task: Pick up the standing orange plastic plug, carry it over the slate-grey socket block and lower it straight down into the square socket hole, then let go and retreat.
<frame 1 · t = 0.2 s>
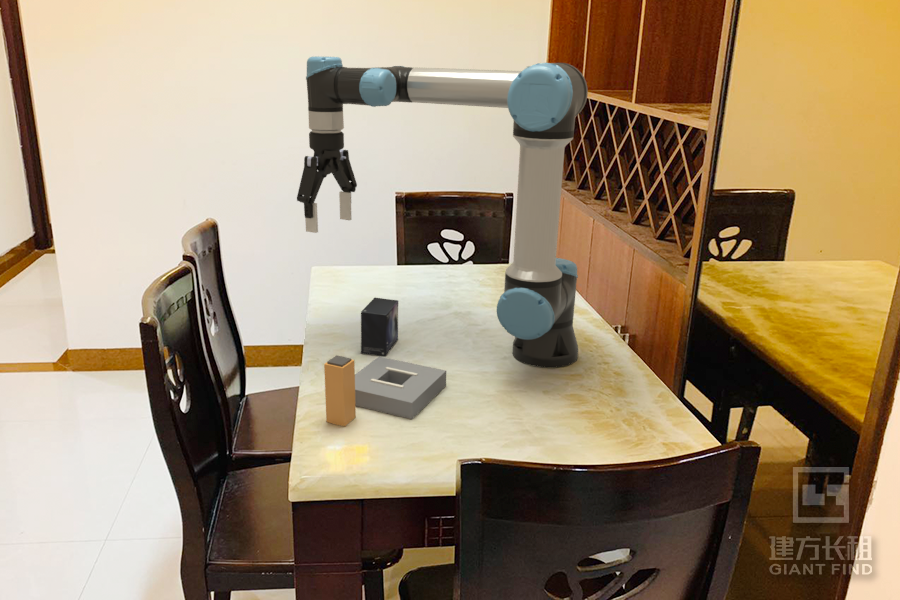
hand: (329, 225, 166), 28 cm above the table, fingers open, 13 cm apart
socket: (394, 393, 149), on the table
plug: (341, 419, 138), on the table
small box: (380, 347, 171), on the table
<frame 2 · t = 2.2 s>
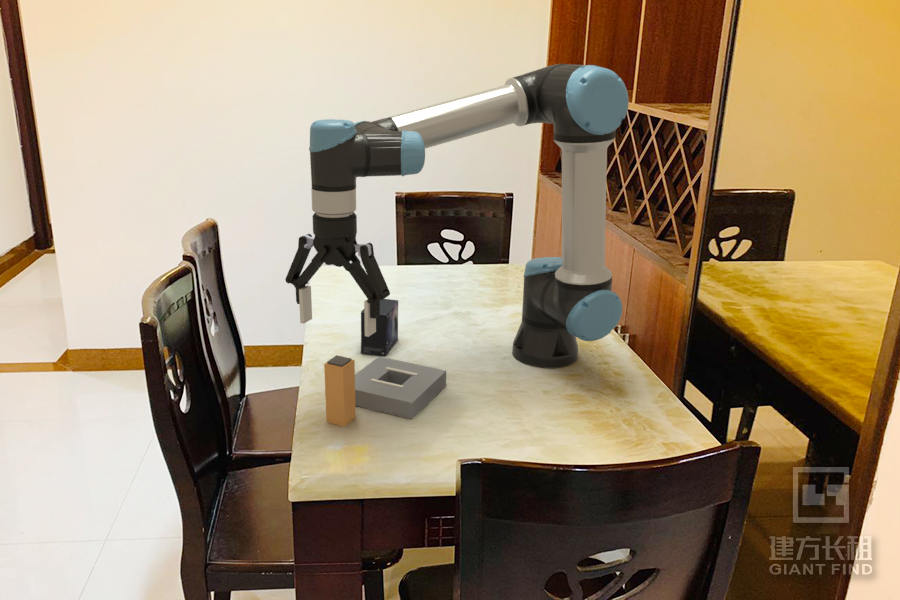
hand: (337, 327, 132), 19 cm above the table, fingers open, 13 cm apart
nothing on the table moved.
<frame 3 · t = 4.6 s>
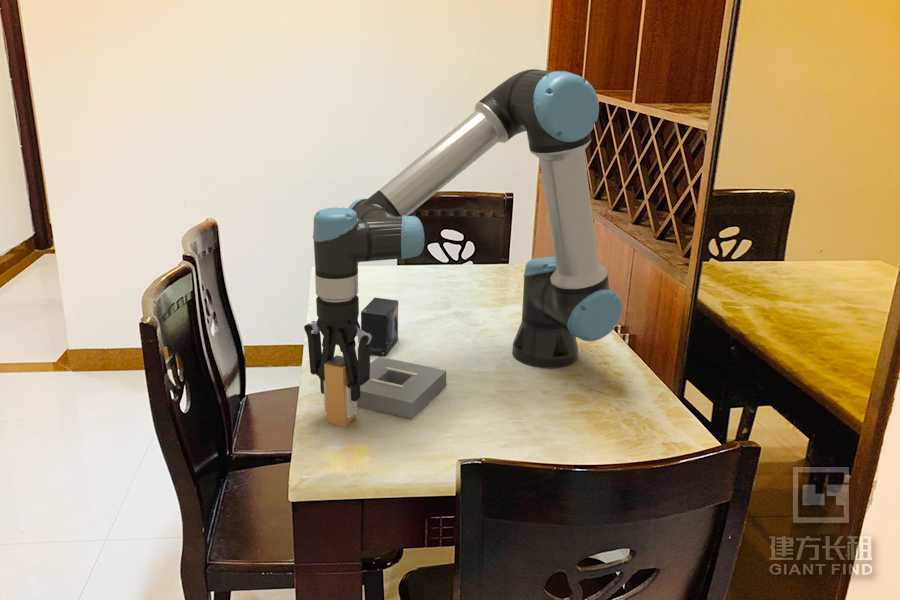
hand: (340, 411, 137), 2 cm above the table, fingers closed on plug, 4 cm apart
plug: (341, 419, 138), on the table, touching gripper
everything else where it was.
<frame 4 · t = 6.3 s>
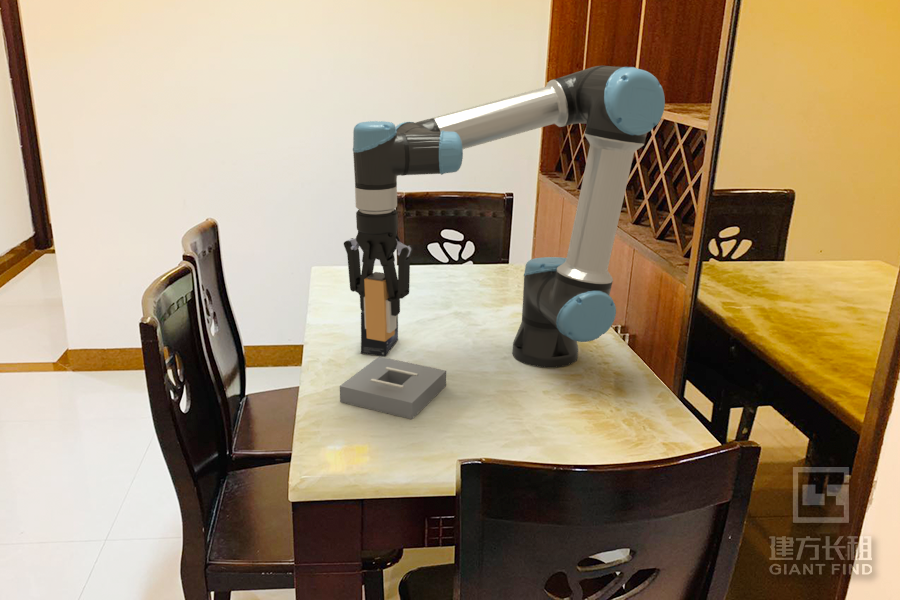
hand: (380, 328, 140), 16 cm above the table, fingers closed on plug, 4 cm apart
plug: (380, 336, 140), point 14 cm above the table, touching gripper
everything else where it was.
when the fingers open (4 cm above the table, at t = 8.5 s): plug drops 2 cm, resting in socket.
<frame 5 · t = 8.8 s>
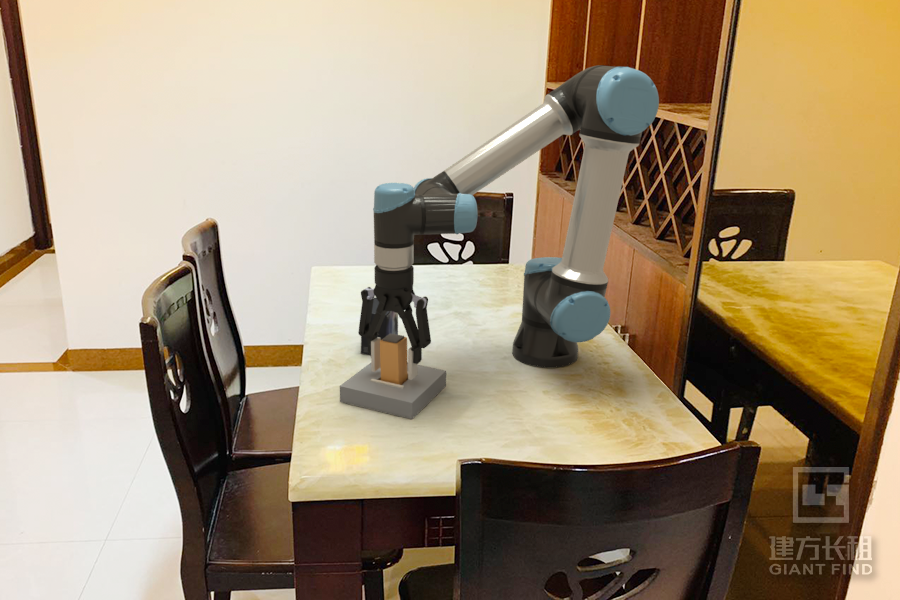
hand: (394, 372, 147), 5 cm above the table, fingers open, 8 cm apart
plug: (394, 393, 149), resting in socket
everything else where it was.
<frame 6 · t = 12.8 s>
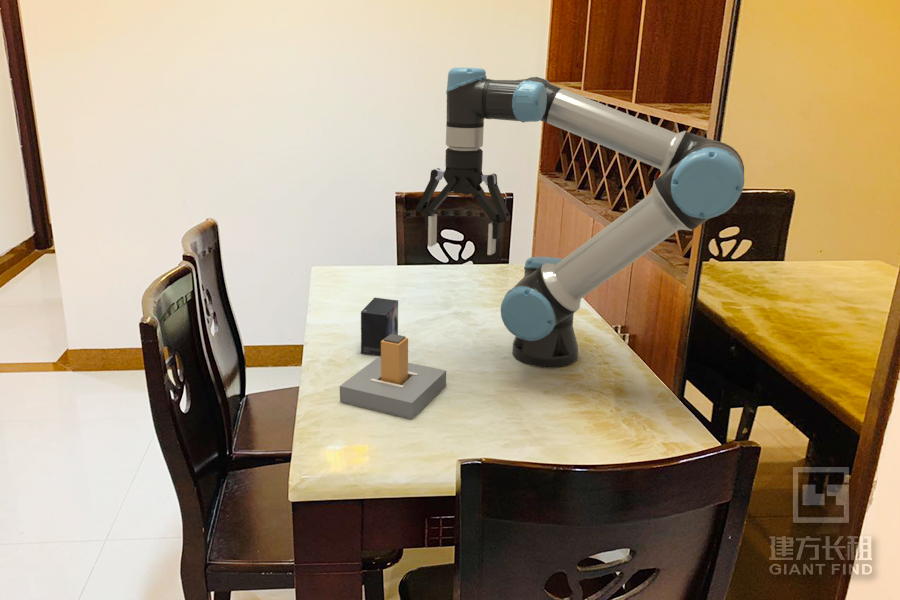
hand: (461, 249, 154), 27 cm above the table, fingers open, 13 cm apart
nothing on the table moved.
at the end: plug 0.1 cm off-centre on the socket, point 0.0 cm above the socket's base; plug tilted 0°; the gripper is holding nothing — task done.
